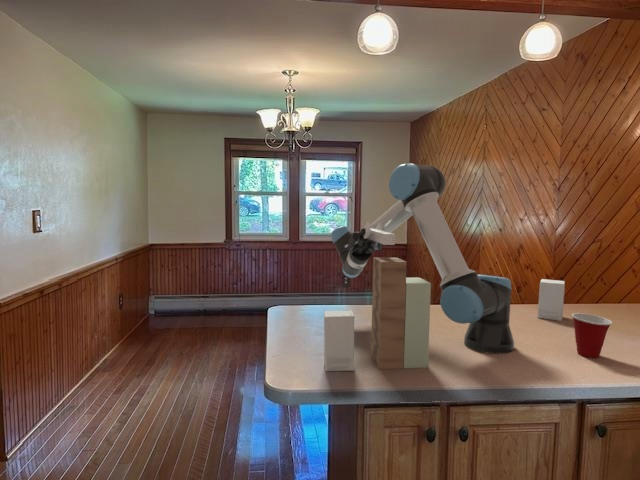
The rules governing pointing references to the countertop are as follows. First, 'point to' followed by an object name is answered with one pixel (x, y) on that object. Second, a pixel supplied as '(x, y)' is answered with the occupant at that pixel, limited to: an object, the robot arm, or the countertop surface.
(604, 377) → the countertop surface
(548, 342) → the countertop surface
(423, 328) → the sage dock
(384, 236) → the grey bar
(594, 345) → the plastic cup
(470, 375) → the countertop surface
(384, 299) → the block
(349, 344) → the skincare box
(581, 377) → the countertop surface
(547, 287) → the supplement box
